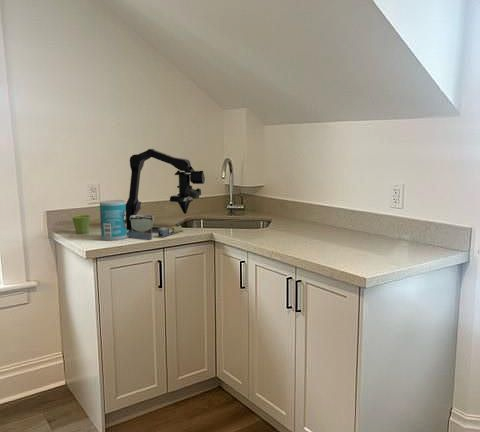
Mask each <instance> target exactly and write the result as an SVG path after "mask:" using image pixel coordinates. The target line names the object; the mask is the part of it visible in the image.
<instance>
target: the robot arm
mask: <svg viewBox="0 0 480 432" xmlns="http://www.w3.org/2000/svg"><path fill="white" fill-rule="evenodd" d="M151 158H153V159H155V160H159V161H161V162H164V163H166V164H169V165H171V166H173V167H174V168H175V169H177V171H176V172H175V173H174V176H178V185H177V186H176V187H177V189H178V193H177V194H175V195H171V196H170V197H169V202H171V203H178V205H179V207H180V209H181V211H182V212H183V214H184V215H186V214H187V213H188V209H189V206H190V204H191V203H192V202H193V200H196V199H199V198H200V196H201V195H202V189H201V188H199V187H198V188H196V189H195V188H193V186H192V185H204V184H205V179H206V176H205V173H204V170H195V169H194V168H193V166H192V164H191V161H190V160H189V159H186V158H180V157H175V156H172V155H169V154H166V153H163V152H161V151H159V150H156V149H154V148H148V149H147V150H145V151H143V152H140V153H138V154H132V155H131V156H130V157H129V167H130V170H131V173H130V184H129V185H130V186H129V193H128V199H127V201H126V202H125V203H126V223H127V231H129V230H131V229H132V227H131V220H129V219H130V216H132V215H138V213H139V212H140V210H141V205H142V201H139V189H140V179H141V172H142V170H143V167H144V164H145V161H147V160H150V159H151ZM191 183H192V185H191Z"/></svg>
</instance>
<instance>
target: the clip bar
mask: <svg viewBox="0 0 480 432" xmlns="http://www.w3.org/2000/svg"><path fill="white" fill-rule="evenodd" d="M179 231H182V225H180V224H177V225H176V226H174V227H171V232H172V233H176V232H179Z"/></svg>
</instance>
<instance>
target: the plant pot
mask: <svg viewBox="0 0 480 432" xmlns="http://www.w3.org/2000/svg"><path fill="white" fill-rule="evenodd" d="M71 219H72V221H73V225H74V230H75V234H76V235H84V234H86V235H87V234H88V233H89V232H90V229H89V228H90V219H91V215H89V214H78V215H73V216H71Z"/></svg>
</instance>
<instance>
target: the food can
mask: <svg viewBox="0 0 480 432" xmlns="http://www.w3.org/2000/svg"><path fill="white" fill-rule="evenodd" d="M126 203H127V202H126V200H122V199H109V200H108V199H107V200H101V201H100V202H99V214H100V215H99V217H100V232H101V233H100V234H101V235H100V236H101V240H103V241H105V242H106V241H109V242H113V241H114V242H115V241H116V242H117V241H123V240H126V239H127V238H128V230H127V223H126Z"/></svg>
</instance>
